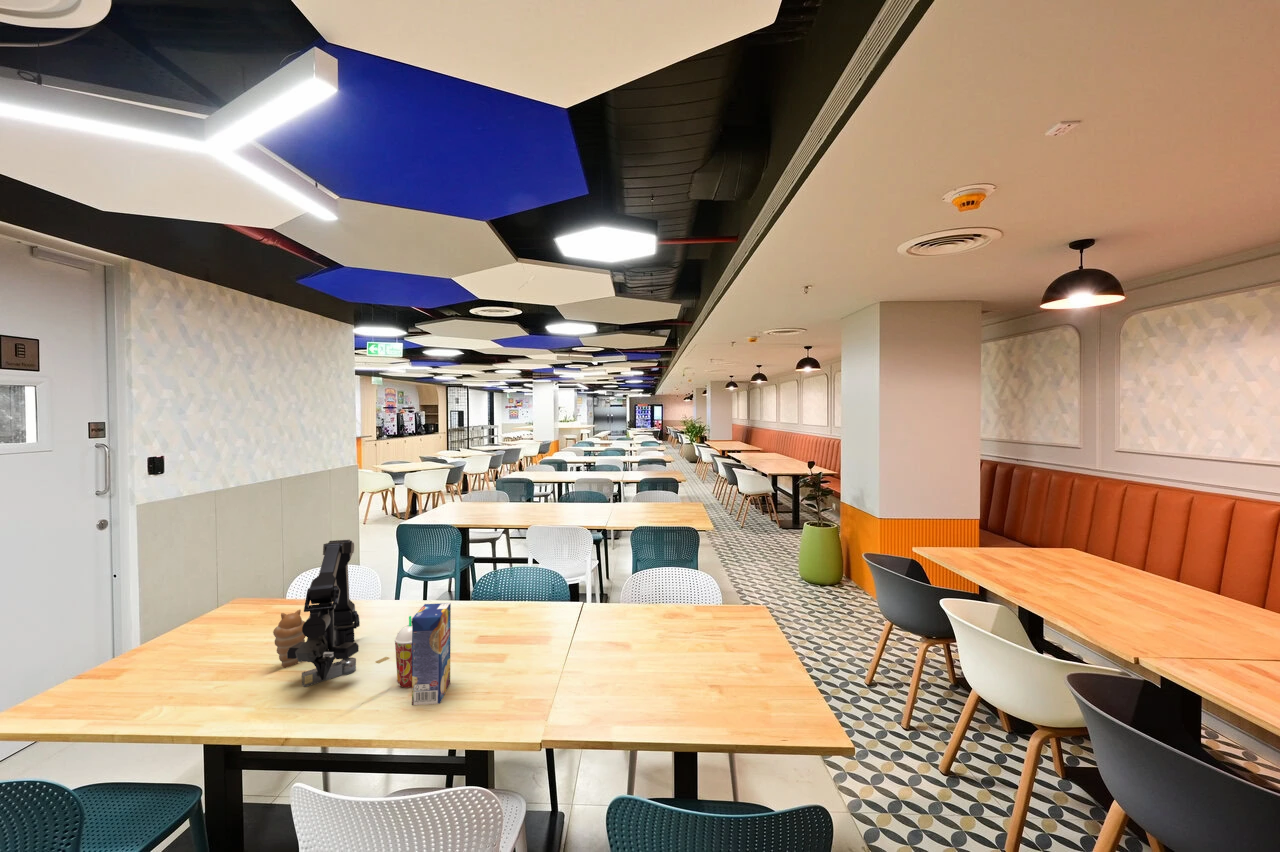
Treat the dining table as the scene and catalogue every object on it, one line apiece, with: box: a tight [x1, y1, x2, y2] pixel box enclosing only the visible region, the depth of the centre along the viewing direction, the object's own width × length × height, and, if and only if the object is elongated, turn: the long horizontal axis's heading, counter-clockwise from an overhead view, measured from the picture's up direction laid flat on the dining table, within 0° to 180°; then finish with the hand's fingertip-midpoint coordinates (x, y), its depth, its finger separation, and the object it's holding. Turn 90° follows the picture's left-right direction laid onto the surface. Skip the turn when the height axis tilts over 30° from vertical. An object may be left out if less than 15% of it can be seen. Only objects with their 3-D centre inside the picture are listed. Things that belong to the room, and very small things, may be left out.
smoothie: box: [394, 615, 412, 688], centre depth 156 cm, size 8×8×20 cm
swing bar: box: [301, 656, 357, 688], centre depth 157 cm, size 14×4×3 cm, turn 138°
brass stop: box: [374, 656, 391, 664], centre depth 169 cm, size 2×4×1 cm, turn 155°
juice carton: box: [411, 602, 452, 706], centre depth 150 cm, size 12×8×24 cm, turn 7°
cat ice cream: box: [272, 609, 307, 669], centre depth 167 cm, size 9×8×18 cm
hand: (323, 679), depth 153 cm, fingers closed
